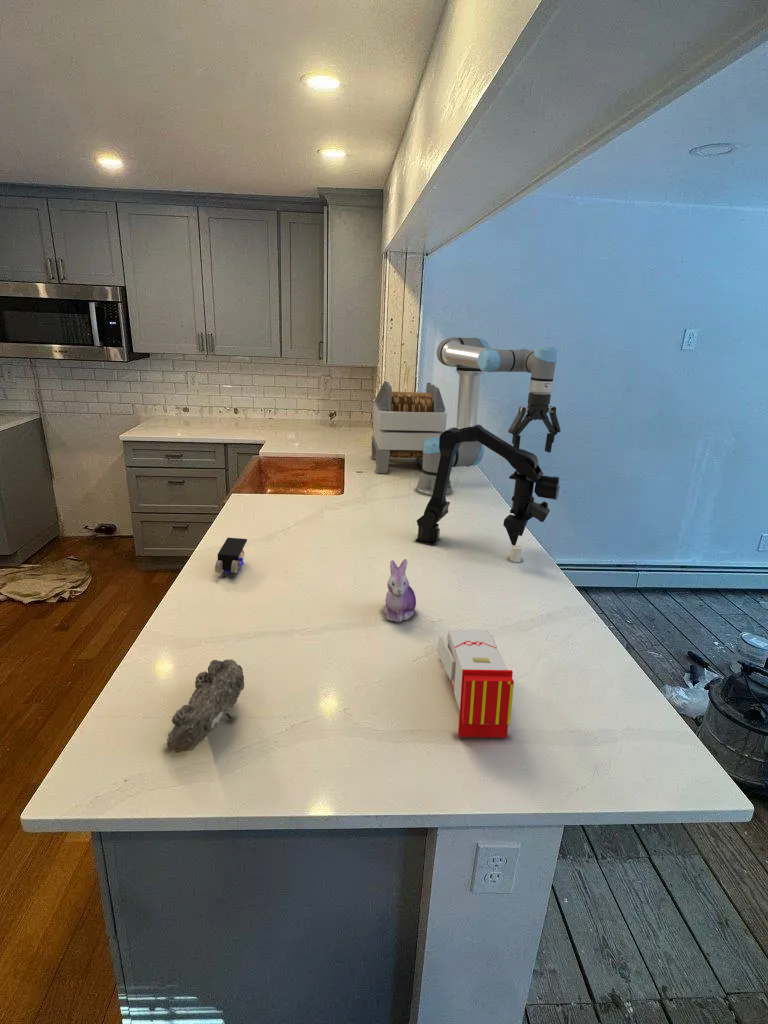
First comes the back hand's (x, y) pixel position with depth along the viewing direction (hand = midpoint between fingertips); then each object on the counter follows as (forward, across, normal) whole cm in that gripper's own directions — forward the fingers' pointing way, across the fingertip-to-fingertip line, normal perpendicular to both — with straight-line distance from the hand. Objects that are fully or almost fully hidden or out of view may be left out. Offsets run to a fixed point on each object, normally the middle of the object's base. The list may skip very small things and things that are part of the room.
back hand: (531, 452), depth 204 cm
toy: (+28, -66, -83) cm, 109 cm away
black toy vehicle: (+28, -107, -12) cm, 111 cm away
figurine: (+28, -68, -49) cm, 89 cm away
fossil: (+28, -117, -76) cm, 142 cm away
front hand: (+21, -20, -27) cm, 39 cm away
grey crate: (+29, -12, +89) cm, 94 cm away
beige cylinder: (+28, -20, -27) cm, 43 cm away
